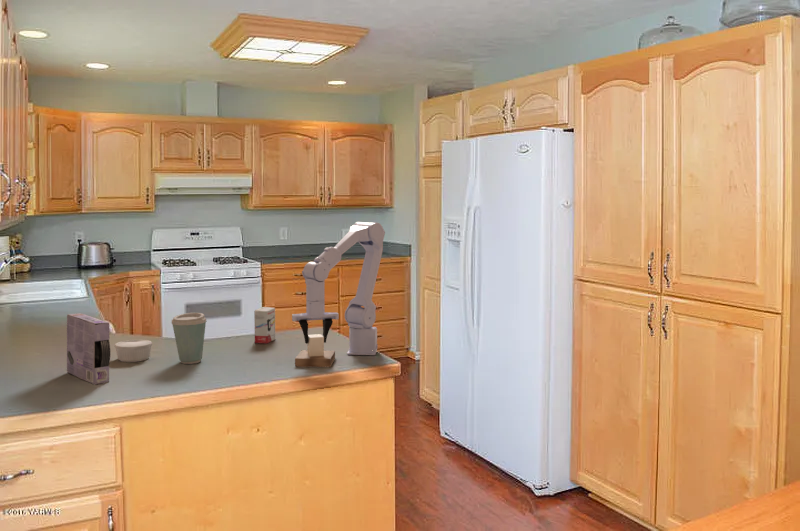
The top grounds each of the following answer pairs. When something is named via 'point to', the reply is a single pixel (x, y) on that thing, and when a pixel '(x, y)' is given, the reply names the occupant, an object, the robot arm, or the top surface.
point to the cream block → (315, 345)
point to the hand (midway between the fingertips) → (315, 342)
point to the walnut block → (314, 359)
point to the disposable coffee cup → (189, 336)
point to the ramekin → (133, 350)
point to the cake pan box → (88, 348)
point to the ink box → (264, 325)
